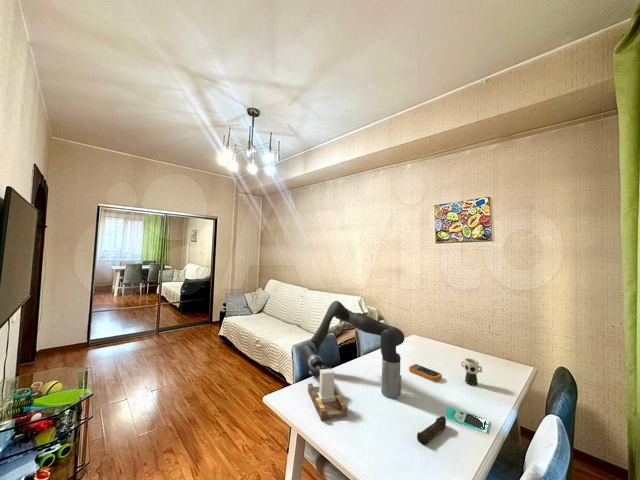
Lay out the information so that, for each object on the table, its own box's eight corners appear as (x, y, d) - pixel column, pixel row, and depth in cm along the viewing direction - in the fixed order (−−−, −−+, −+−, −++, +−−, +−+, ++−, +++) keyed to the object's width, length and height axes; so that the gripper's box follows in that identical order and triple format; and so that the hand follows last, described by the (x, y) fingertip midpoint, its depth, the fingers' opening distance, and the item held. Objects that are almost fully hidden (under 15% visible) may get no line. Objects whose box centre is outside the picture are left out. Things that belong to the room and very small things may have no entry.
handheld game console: (449, 408, 125) (449, 405, 125) (489, 423, 115) (489, 419, 115) (445, 418, 117) (445, 415, 117) (487, 435, 107) (487, 431, 107)
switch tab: (317, 396, 126) (318, 369, 127) (331, 394, 129) (332, 367, 129) (320, 403, 121) (321, 374, 121) (335, 401, 123) (336, 373, 123)
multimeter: (436, 383, 149) (436, 377, 149) (408, 371, 163) (408, 366, 163) (443, 379, 154) (443, 373, 155) (415, 368, 168) (415, 363, 169)
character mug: (458, 381, 151) (459, 359, 152) (463, 378, 156) (463, 356, 157) (480, 389, 143) (480, 365, 144) (483, 385, 148) (484, 362, 149)
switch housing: (307, 391, 134) (308, 383, 134) (329, 389, 138) (330, 381, 138) (321, 420, 111) (321, 410, 111) (347, 416, 115) (347, 407, 115)
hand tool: (425, 447, 98) (426, 435, 98) (416, 441, 101) (416, 429, 102) (451, 430, 109) (452, 418, 109) (442, 424, 112) (442, 413, 112)
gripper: (304, 357, 142) (312, 372, 125) (327, 356, 146) (338, 369, 129) (304, 371, 142) (312, 388, 125) (327, 369, 145) (338, 385, 129)
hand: (325, 378), depth 127 cm, fingers closed
